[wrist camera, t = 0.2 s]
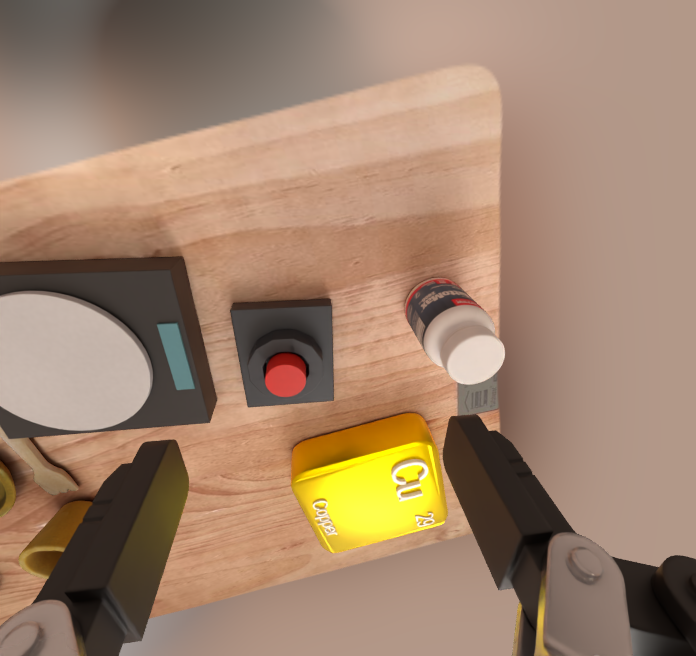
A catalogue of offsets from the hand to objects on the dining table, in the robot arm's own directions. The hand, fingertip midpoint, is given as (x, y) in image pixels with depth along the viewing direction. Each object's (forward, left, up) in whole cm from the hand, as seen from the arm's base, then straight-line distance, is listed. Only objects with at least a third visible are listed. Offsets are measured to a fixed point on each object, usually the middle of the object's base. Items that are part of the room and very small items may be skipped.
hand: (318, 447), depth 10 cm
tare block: (+9, -2, -19) cm, 21 cm away
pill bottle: (+5, +11, -19) cm, 22 cm away
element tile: (+26, +6, -19) cm, 33 cm away
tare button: (+9, -2, -16) cm, 19 cm away
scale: (+7, -17, -19) cm, 26 cm away
